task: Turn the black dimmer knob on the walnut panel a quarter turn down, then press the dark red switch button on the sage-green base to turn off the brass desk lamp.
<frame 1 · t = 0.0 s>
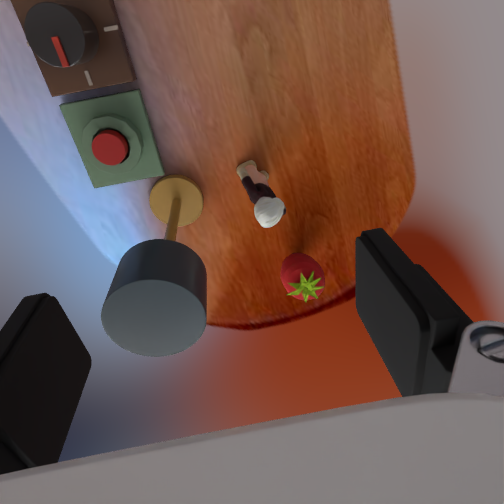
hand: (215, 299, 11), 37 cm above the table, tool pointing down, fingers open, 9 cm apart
grandmother figurine: (255, 176, 48), on the table
lamp switch: (110, 147, 40), point 3 cm above the table, slide at 0.1 cm
strawberry: (294, 256, 55), on the table
dimmer knob: (64, 35, 33), point 5 cm above the table, hinge at 0.0°
dimmer panel: (79, 35, 37), on the table
desk lamp: (177, 199, 48), on the table
switch base: (116, 139, 43), on the table
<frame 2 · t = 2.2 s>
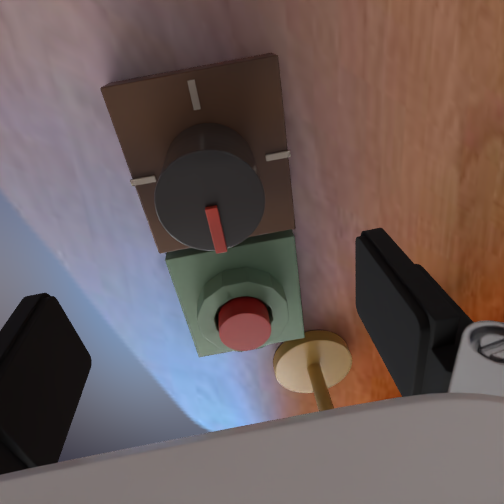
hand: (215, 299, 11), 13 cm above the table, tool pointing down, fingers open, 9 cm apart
lamp switch: (244, 323, 25), point 3 cm above the table, slide at 0.1 cm
dimmer knob: (210, 185, 18), point 5 cm above the table, hinge at 0.0°
dimmer panel: (210, 156, 22), on the table
desk lamp: (310, 357, 33), on the table
switch base: (240, 292, 28), on the table
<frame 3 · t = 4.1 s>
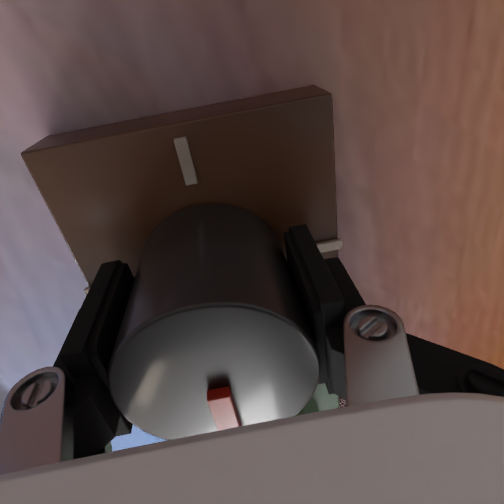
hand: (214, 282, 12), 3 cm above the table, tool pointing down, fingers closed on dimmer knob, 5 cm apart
dimmer knob: (215, 318, 10), point 5 cm above the table, hinge at 0.0°, touching gripper
dimmer panel: (213, 239, 14), on the table
switch base: (255, 403, 20), on the table
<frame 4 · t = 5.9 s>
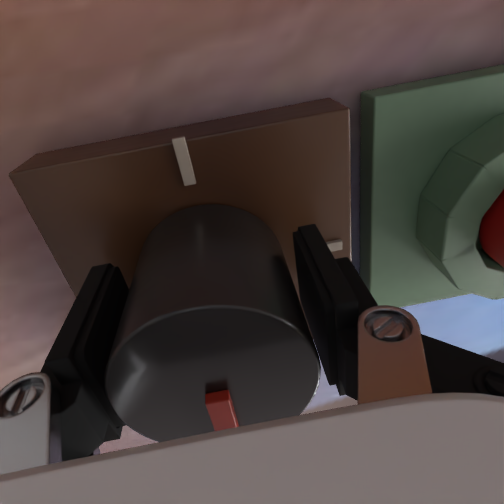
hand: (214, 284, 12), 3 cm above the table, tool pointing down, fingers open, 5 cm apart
dimmer knob: (214, 320, 10), point 5 cm above the table, hinge at -90.8°
dimmer panel: (212, 239, 14), on the table
switch base: (481, 187, 14), on the table
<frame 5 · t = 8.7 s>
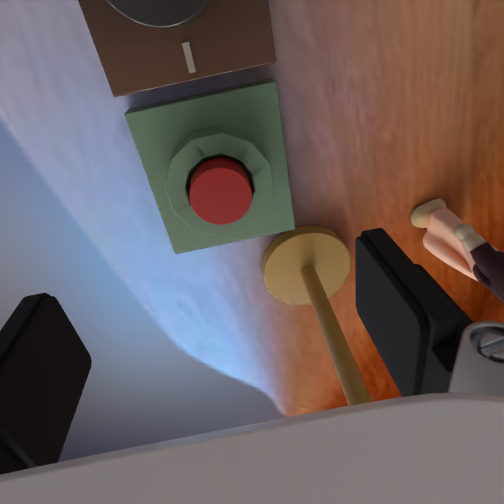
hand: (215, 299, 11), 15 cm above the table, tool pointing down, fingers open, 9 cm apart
grandmother figurine: (437, 223, 28), on the table
lamp switch: (220, 191, 21), point 3 cm above the table, slide at 0.1 cm
desk lamp: (304, 262, 29), on the table
switch base: (219, 171, 24), on the table
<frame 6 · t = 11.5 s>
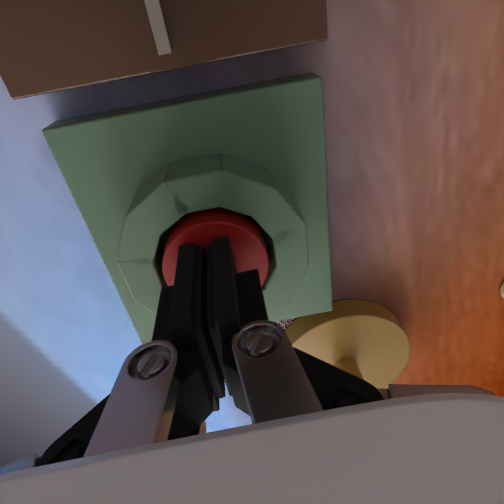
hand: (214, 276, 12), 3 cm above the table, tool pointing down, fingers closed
lamp switch: (215, 255, 13), point 2 cm above the table, slide at -0.9 cm, touching gripper
desk lamp: (338, 348, 20), on the table
switch base: (214, 223, 15), on the table
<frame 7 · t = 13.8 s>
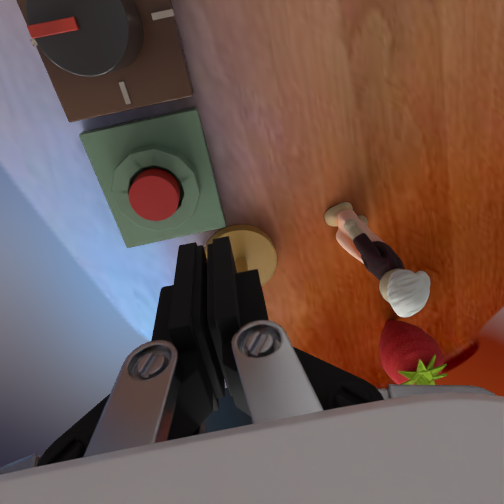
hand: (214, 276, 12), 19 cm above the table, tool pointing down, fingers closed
grandmother figurine: (349, 223, 34), on the table
lamp switch: (155, 194, 27), point 3 cm above the table, slide at 0.1 cm
strawberry: (387, 321, 41), on the table
dimmer knob: (91, 25, 20), point 5 cm above the table, hinge at -90.8°
dimmer panel: (110, 28, 24), on the table
desk lamp: (239, 256, 35), on the table
switch base: (160, 180, 30), on the table
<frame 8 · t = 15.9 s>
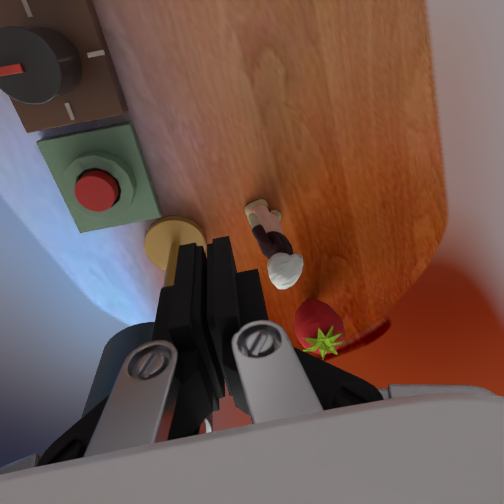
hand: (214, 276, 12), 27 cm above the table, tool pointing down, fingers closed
grandmother figurine: (266, 216, 42), on the table
lamp switch: (97, 190, 34), point 3 cm above the table, slide at 0.1 cm
strawberry: (308, 300, 49), on the table
dimmer knob: (37, 64, 27), point 5 cm above the table, hinge at -90.8°
dimmer panel: (58, 60, 31), on the table
desk lamp: (176, 242, 42), on the table
switch base: (105, 178, 37), on the table
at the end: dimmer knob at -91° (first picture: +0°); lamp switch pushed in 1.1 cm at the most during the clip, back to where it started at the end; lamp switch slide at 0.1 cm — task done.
